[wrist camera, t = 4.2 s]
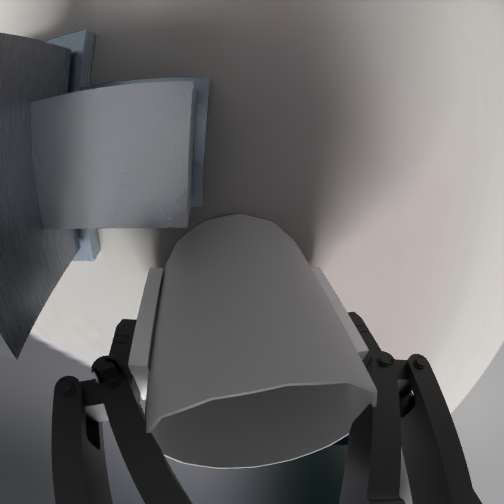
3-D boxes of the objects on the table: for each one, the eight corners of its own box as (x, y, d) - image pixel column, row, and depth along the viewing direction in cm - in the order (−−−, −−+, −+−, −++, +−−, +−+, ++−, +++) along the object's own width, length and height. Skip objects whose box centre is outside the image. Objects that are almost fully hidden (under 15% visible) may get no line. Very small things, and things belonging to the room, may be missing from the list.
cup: (157, 317, 17) (145, 463, 9) (177, 199, 13) (143, 370, 5) (275, 332, 19) (313, 459, 11) (323, 234, 16) (421, 370, 7)
